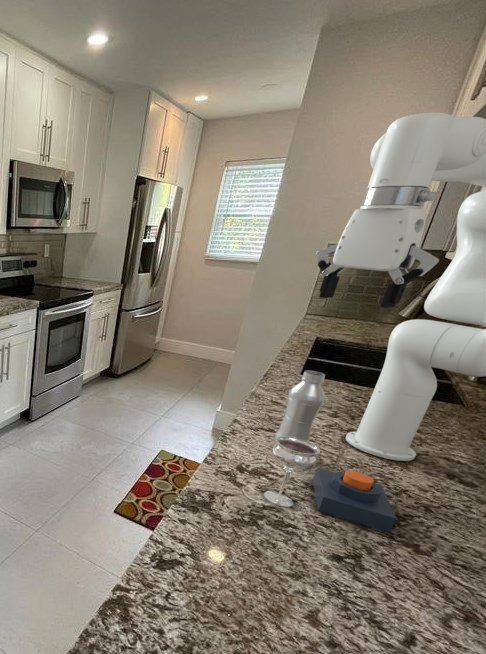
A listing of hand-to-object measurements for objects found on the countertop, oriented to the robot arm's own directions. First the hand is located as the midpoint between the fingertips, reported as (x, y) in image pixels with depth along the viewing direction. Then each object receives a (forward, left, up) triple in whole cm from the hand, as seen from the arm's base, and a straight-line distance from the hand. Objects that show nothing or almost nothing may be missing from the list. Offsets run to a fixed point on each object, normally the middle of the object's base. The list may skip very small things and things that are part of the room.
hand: (354, 302), depth 75 cm
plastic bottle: (-10, -1, -37) cm, 39 cm away
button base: (+7, +8, -37) cm, 39 cm away
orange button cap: (+7, +8, -32) cm, 34 cm away
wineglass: (+13, -3, -37) cm, 40 cm away
